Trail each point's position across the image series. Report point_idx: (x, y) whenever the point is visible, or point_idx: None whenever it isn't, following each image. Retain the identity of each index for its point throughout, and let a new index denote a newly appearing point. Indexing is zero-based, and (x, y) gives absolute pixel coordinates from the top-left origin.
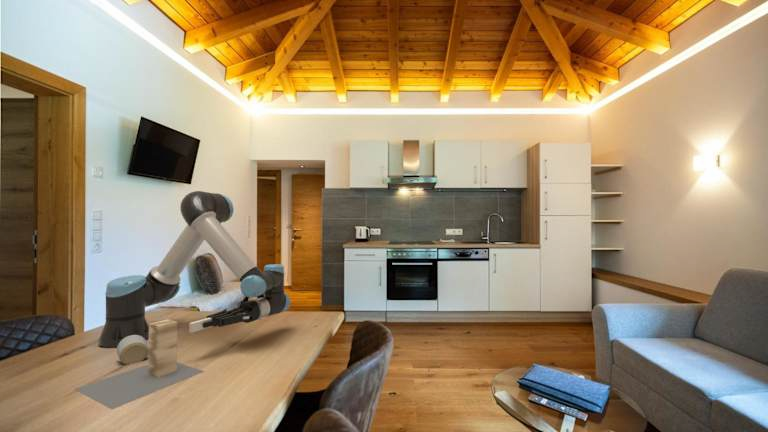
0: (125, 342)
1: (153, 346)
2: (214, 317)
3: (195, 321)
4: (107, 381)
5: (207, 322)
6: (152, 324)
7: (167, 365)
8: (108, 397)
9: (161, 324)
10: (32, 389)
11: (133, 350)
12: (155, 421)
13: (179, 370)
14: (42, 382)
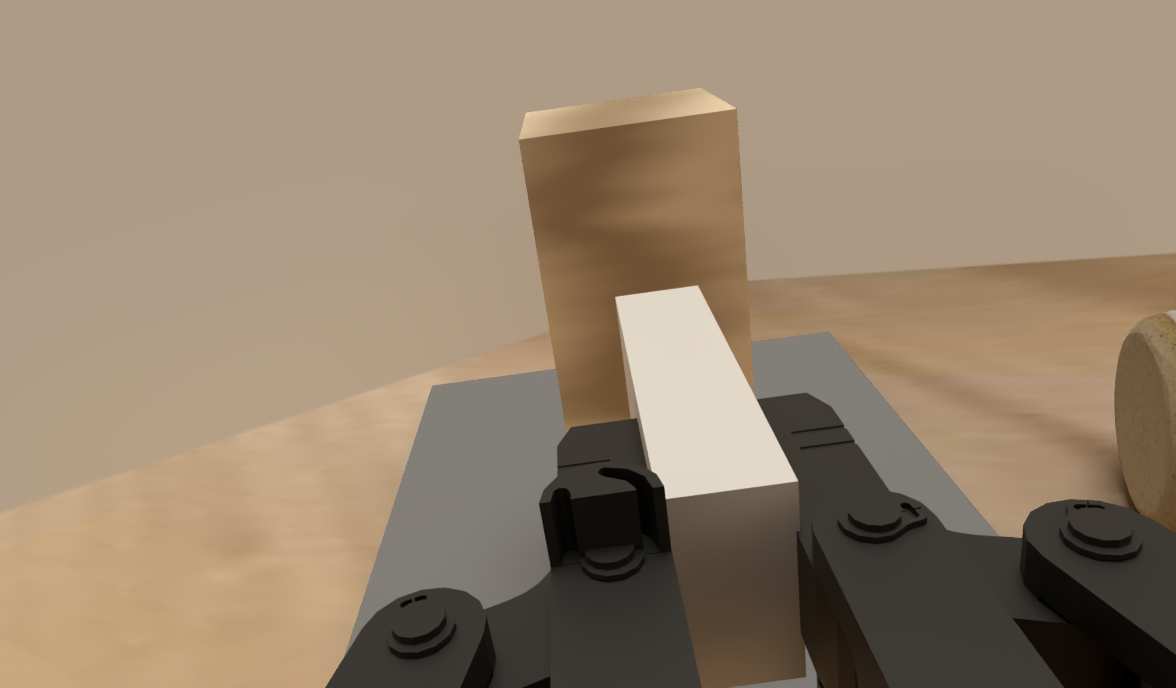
0: None
1: None
2: (565, 496)
3: (706, 323)
4: (809, 390)
5: (574, 460)
6: (645, 96)
7: None
8: None
9: (563, 112)
10: (1029, 289)
11: (1142, 381)
12: (178, 466)
13: None
14: (1118, 298)
